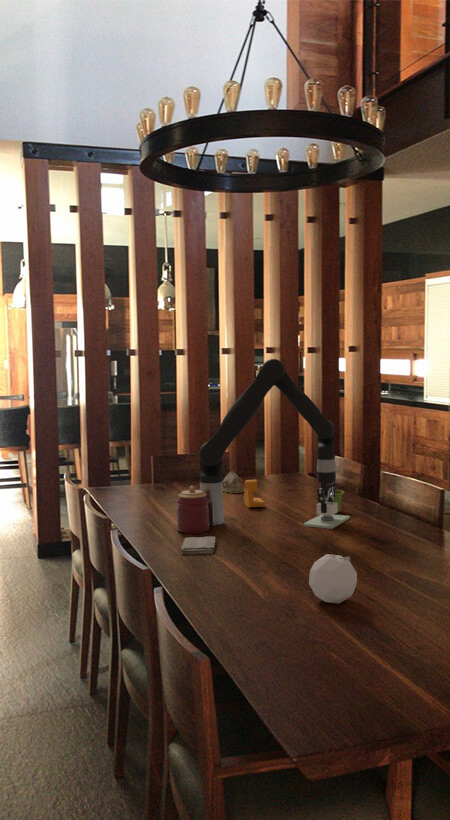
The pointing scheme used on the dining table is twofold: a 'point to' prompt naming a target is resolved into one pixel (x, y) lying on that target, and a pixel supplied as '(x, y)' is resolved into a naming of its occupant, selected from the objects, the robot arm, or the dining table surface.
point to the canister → (192, 511)
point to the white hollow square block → (328, 509)
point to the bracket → (251, 494)
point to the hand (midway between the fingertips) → (327, 510)
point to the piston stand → (326, 520)
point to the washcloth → (198, 545)
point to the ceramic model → (232, 483)
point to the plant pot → (338, 498)
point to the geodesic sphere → (333, 578)
